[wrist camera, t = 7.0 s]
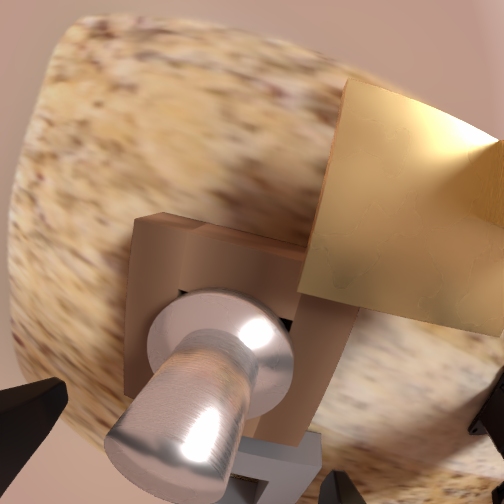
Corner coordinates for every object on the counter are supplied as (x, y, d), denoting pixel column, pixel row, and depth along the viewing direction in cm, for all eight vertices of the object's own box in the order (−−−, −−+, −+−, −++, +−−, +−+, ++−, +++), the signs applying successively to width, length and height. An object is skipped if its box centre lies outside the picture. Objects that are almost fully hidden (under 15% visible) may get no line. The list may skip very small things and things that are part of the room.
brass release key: (532, 171, 8) (634, 177, 2) (488, 327, 10) (566, 404, 4) (343, 87, 9) (388, -10, 3) (296, 281, 11) (293, 388, 5)
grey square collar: (320, 433, 17) (321, 466, 14) (278, 501, 19) (275, 527, 16) (172, 395, 18) (154, 424, 15) (165, 471, 20) (153, 495, 17)
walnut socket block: (356, 260, 14) (369, 278, 12) (298, 413, 17) (297, 447, 14) (163, 212, 15) (134, 218, 12) (145, 368, 18) (124, 394, 15)
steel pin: (309, 283, 15) (313, 433, 5) (280, 385, 16) (252, 538, 7) (186, 255, 16) (48, 343, 6) (175, 357, 17) (84, 477, 8)
